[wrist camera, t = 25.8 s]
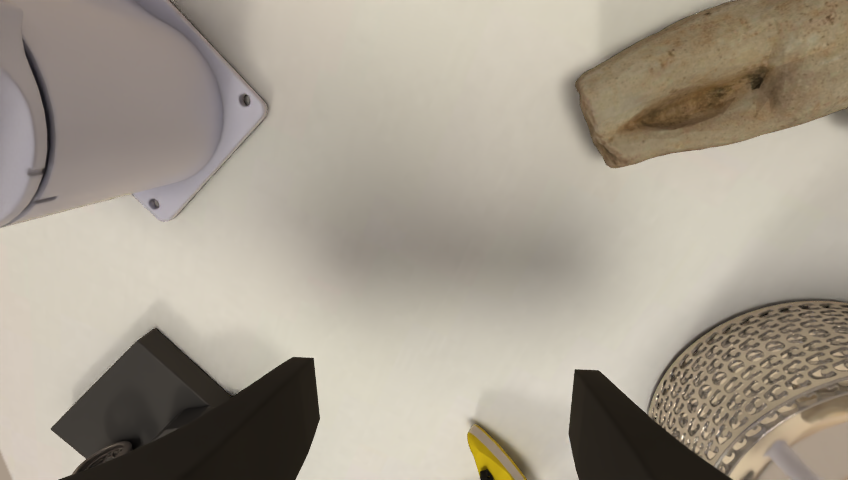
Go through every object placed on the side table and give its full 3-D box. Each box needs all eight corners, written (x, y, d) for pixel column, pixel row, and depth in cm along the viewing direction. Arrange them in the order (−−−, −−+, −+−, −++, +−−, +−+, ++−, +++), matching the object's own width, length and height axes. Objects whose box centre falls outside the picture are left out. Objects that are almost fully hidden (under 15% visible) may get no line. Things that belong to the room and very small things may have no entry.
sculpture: (596, 208, 20) (1014, 85, 16) (619, 235, 16) (1211, 73, 12) (552, 53, 19) (998, -125, 15) (564, 32, 14) (1214, -232, 10)
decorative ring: (116, 470, 25) (70, 516, 22) (100, 444, 25) (51, 488, 22) (157, 462, 25) (115, 508, 22) (141, 435, 24) (97, 479, 21)
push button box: (70, 412, 26) (21, 450, 23) (163, 319, 23) (120, 349, 21) (196, 517, 28) (164, 565, 25) (296, 441, 25) (274, 484, 22)
